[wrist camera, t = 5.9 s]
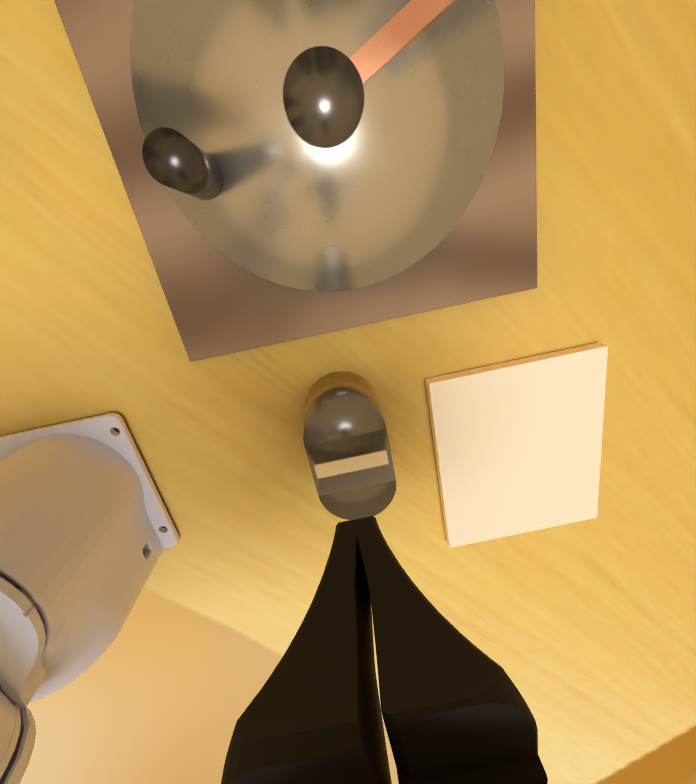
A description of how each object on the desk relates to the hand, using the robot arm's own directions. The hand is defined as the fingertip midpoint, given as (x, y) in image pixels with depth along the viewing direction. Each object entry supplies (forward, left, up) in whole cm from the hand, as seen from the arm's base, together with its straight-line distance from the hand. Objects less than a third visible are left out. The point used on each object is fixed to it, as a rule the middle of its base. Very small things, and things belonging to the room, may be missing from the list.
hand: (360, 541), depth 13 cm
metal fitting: (0, 0, -10) cm, 10 cm away
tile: (-4, -10, -9) cm, 14 cm away
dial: (+15, -2, -8) cm, 17 cm away
